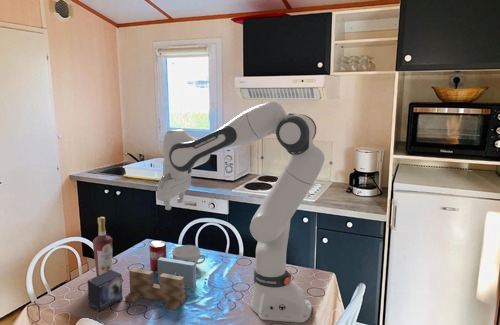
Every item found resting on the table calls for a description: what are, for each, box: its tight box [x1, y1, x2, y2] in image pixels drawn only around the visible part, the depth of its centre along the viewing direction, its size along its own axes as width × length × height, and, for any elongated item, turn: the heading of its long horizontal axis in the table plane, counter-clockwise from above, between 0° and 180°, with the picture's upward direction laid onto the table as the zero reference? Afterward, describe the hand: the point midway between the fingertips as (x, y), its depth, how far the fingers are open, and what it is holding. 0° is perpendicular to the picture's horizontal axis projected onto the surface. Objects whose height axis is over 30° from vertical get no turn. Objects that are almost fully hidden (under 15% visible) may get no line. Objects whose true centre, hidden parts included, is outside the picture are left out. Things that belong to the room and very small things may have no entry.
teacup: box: [171, 244, 206, 265], centre depth 166 cm, size 15×12×8 cm
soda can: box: [148, 240, 168, 273], centre depth 163 cm, size 7×7×12 cm
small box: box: [86, 269, 123, 313], centre depth 136 cm, size 11×6×10 cm, turn 148°
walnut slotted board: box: [125, 267, 189, 311], centre depth 140 cm, size 22×10×10 cm, turn 73°
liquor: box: [92, 216, 113, 277], centre depth 149 cm, size 7×7×28 cm
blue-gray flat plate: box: [157, 257, 197, 290], centre depth 151 cm, size 16×2×10 cm, turn 73°
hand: (174, 205), depth 145 cm, fingers open, 8 cm apart
